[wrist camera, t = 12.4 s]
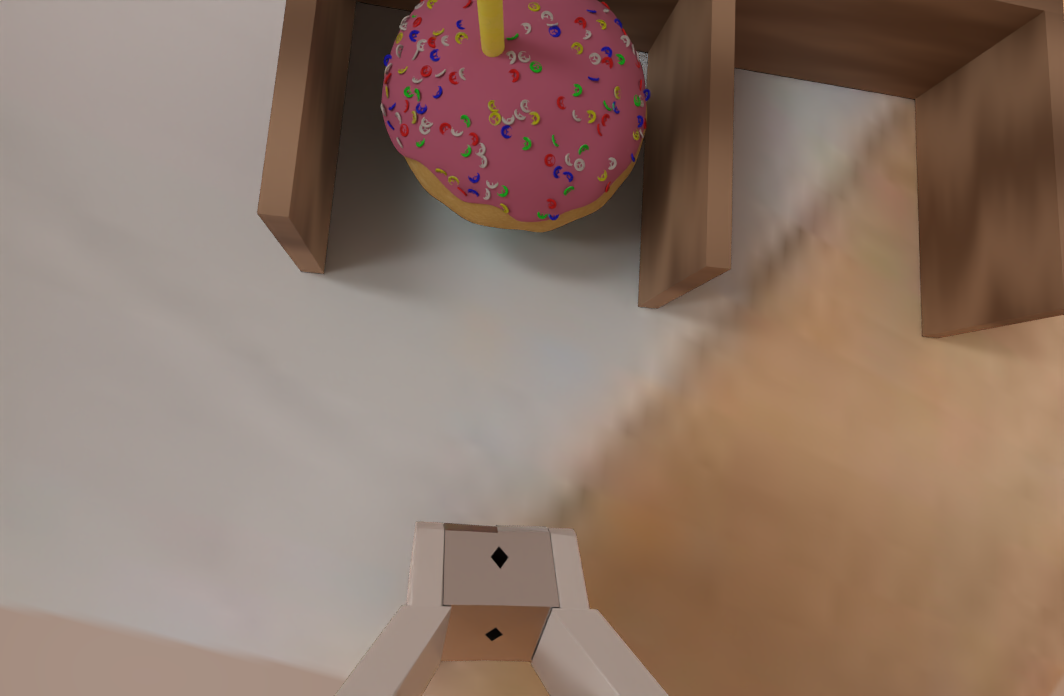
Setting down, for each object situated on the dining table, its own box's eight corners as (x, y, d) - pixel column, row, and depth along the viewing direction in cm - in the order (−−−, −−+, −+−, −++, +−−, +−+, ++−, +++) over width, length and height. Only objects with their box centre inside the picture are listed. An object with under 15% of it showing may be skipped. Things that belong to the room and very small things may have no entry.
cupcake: (379, 250, 23) (334, 57, 11) (402, 42, 24) (382, -327, 12) (602, 275, 24) (768, 128, 13) (612, 77, 26) (771, -224, 14)
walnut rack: (938, 337, 26) (1289, 272, 16) (300, 271, 22) (186, 119, 12) (929, 85, 28) (1239, -128, 18) (337, -21, 24) (267, -389, 13)
